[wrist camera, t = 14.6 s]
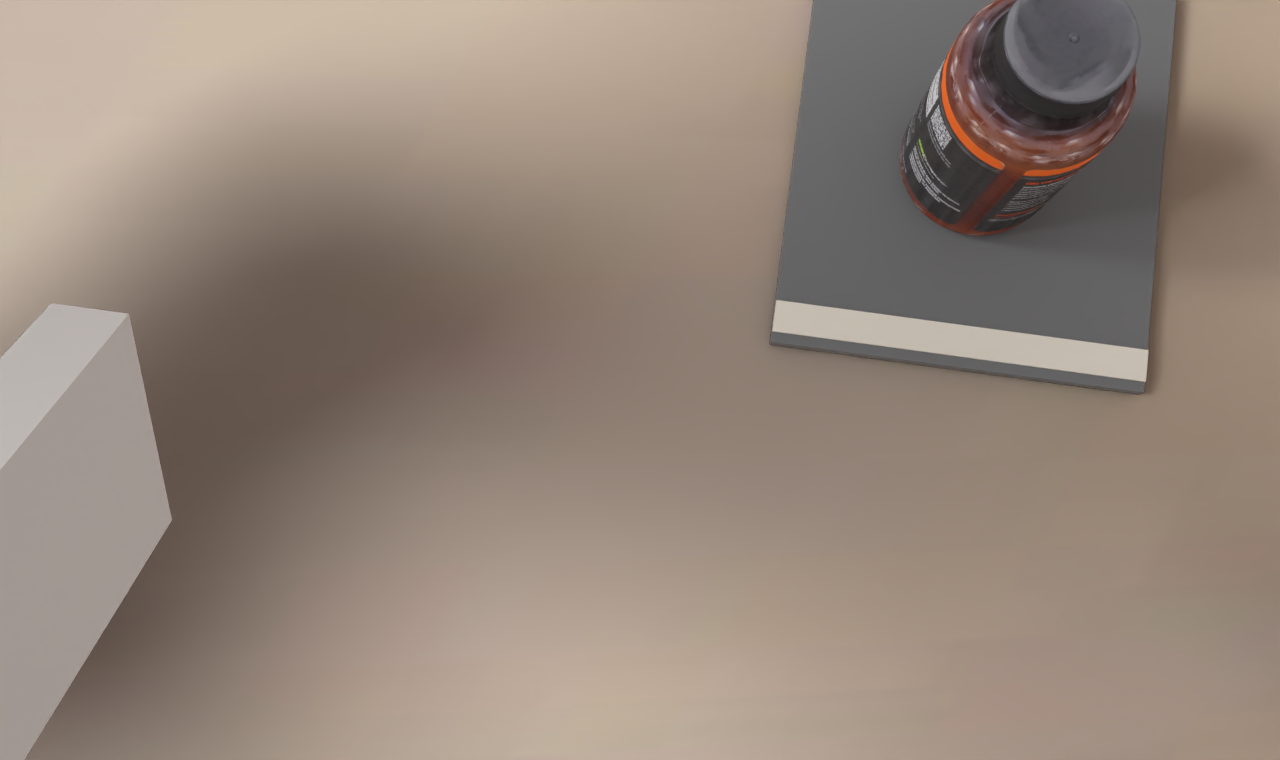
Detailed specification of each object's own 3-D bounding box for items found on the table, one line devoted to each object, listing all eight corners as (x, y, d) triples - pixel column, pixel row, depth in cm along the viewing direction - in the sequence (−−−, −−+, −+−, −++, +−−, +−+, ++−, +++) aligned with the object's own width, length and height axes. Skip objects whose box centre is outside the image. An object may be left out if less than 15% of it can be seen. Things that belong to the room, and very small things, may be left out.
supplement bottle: (1082, 157, 45) (1221, 29, 34) (984, 271, 45) (1093, 179, 34) (961, 60, 46) (1059, -97, 35) (862, 171, 45) (930, 48, 34)
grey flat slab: (769, 344, 45) (771, 341, 44) (819, -46, 47) (821, -55, 47) (1137, 394, 45) (1145, 392, 44) (1170, -2, 47) (1178, -11, 46)
